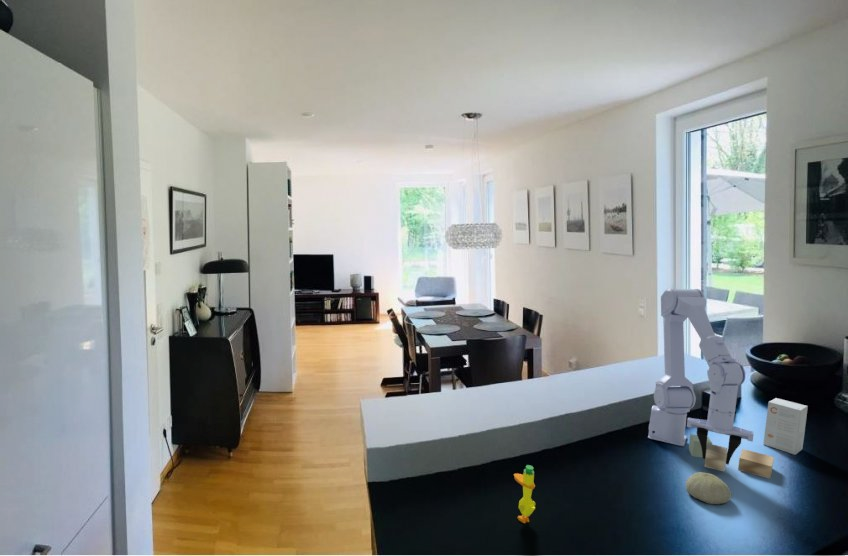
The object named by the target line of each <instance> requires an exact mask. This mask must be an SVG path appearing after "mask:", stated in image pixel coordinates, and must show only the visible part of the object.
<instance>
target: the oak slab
mask: <svg viewBox="0 0 848 556" xmlns="http://www.w3.org/2000/svg"><path fill="white" fill-rule="evenodd" d="M773 466H774V456H771V455H767V454H763V453H759V452H756V451H752V450H749V449H745V448H742V450H741V452H740V455H739V459H738V469H737V470H738V471H741V472H744V473H748V474H752V475H755V476H760V477H762V478H765V477H766V479H769V478H770V479H771V477H772V472H773Z"/></svg>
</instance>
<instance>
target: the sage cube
mask: <svg viewBox="0 0 848 556" xmlns="http://www.w3.org/2000/svg"><path fill="white" fill-rule="evenodd" d="M707 443H708V444H712V445H713V442H712V441H711V439H710V437H709V436H707ZM688 451H689V453H690V455H691V457H695V458H700V459H703V458H702V448H701V444H700V441H699V438H698V436H697V434H691V433H690V435H689V444H688Z"/></svg>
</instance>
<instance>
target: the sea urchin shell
mask: <svg viewBox="0 0 848 556" xmlns="http://www.w3.org/2000/svg"><path fill="white" fill-rule="evenodd" d="M685 488H686V491H687V493H688V494H689V495H690V496H692V497H693V498H695V499H698V500H699V501H701V502H703V503H707V504H709V505H720V504H726V503H727V502H729V501H730V499H731V496H732V492H731V489H730V488H729V486H728V485H727V483H725V482H724V481H723V479H721V478H720V477H719V476H717V475H714V474H713V473H707V472H700V471H698V472H695V473H693V474H691V475H690V476H688V478H687V480H686V481H685Z"/></svg>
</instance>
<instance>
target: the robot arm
mask: <svg viewBox="0 0 848 556" xmlns="http://www.w3.org/2000/svg"><path fill="white" fill-rule="evenodd" d="M706 305H707V299H706V297H705V294H704V293H703V291H702V290H701V289H698V288H694V289H693V288H692V289H691V288H690V289H686V288H682V289H681V288H679V289H678V288H670V287H669V288H667V289H665V290H664V291H663V293H662V294H661V295H660V316H661V317H662V318H663V319H662V320H663V321H662V323H663V324H662V325H663V355H664V356H663V357H664V360H663V361H664V375H663V376H661V378H659V379H657V380H656V381H655V388H654V392H653V400H654V405H652V407H651V409H650V411H651V412H650V417H649V424H648V436H647V438H648V439H650V440H655V441H660V442H664V443H667V444H671V445H676V446H679V447H685V444H686V440H687V435H685V432H686V428H689V429H690V428H695V429H696V435H697V436H698V438H699V441H700V444H701V448H702V458H701V459H703V460H705V457H706V449H707V437H709V436H708V435H709V432H712V433H715V434H719V435H720V434H721V435H726V436H729V439H728V447H727V458H726V465H727V466H729V464H730V462H731V458H732V457H733V455H734V453H735V452H736V450H737V449H738V448H739V447H740V445H741V444H742V439H743V440H747V441H749V442H751V443H752V442H753V441H754V431H753V430H752V431H751V430H750V429H749V430H748V429H746V428H745V429H744V428H742V427H738V426H735V425H734V422H735V412H736V408H737V407H736V405H737V400H738V393H739V392H738V391H739V386H741V385H743V384H744V382H745V380H746V371H745V369H744V365H743V364H742V363H741V362H739V361H737V359H735V358H733V357H732V355H731V353H730V351H729V349H728V348H727V346H726V344H725V342H724V340H723V338H722V337H720V336H718V335H716V334H715V332H714V330H713V326H712V325H711V321H710V319H709V317H708V314H707V312H706V310H705V309H706ZM687 319H688V320H689V322H690V324H691V325H692V327H693V328H694V330H695V332H696V334H697V335H698V337H699V338H700V342H699V344H698V347H699V349H700V351H701V353H702V355H703V357H704V359H705V361H706V363H707V365H708V370H707V372H706V373H707V378H708V383H709V384H708V388H709V390H710V396H709V403H708V410H707V411H708V413H707V419H701V418H700V419H699V418H694V417H693V418H692V417H687V416H688V413H690V410H691V409H693V407H694V406H695V404H696V400H697V397H696V393H695V392H694V384H693V383H692V382H691V381H690V380H689V379H688V378H687V377H686V376H685V375H686V374H685V373H686V372H685V368H686V367H685V340H684V339H685V338H684V337H685V335H684V333H685V332H684V322H685V321H686V320H687Z"/></svg>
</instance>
